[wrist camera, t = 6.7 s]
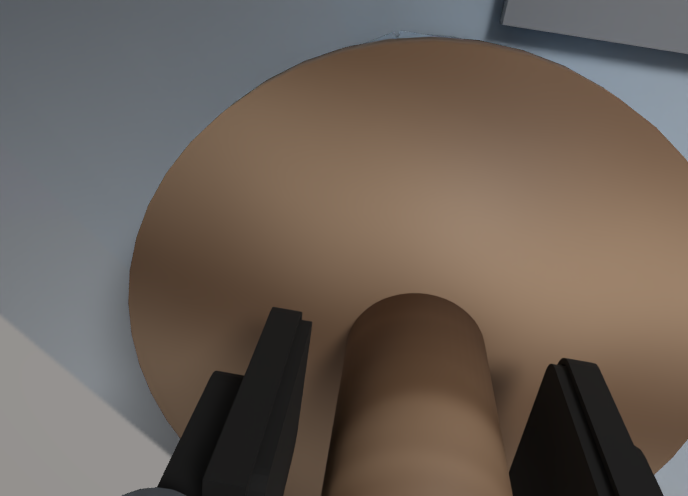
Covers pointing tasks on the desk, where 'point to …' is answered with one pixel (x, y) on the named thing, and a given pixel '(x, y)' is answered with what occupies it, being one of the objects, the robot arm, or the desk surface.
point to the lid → (422, 260)
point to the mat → (606, 20)
